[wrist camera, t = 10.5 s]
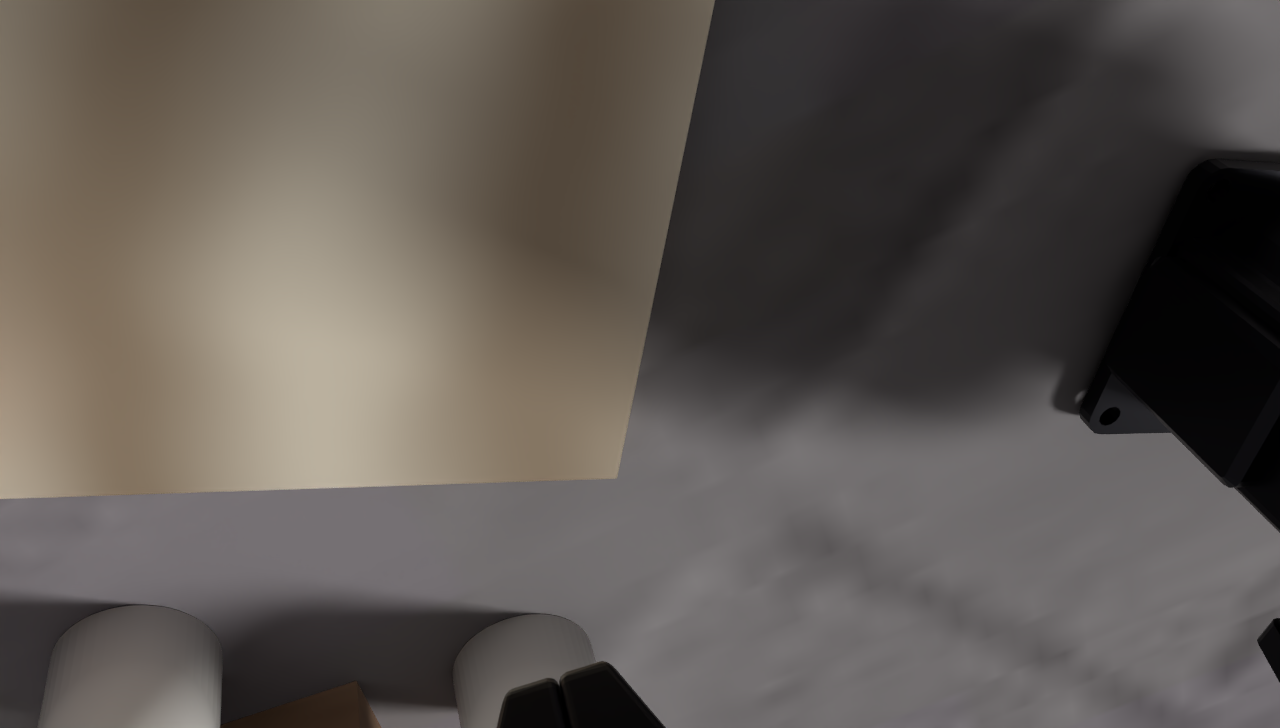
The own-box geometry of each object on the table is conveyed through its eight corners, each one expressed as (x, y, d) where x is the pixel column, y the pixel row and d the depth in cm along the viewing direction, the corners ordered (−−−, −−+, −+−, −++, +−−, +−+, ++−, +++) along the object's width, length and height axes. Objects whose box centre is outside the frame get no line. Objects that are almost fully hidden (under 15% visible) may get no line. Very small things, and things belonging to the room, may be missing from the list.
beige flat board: (752, -285, 16) (777, -276, 16) (607, 453, 23) (618, 484, 23) (-744, -557, 12) (-819, -564, 11) (-357, 478, 19) (-385, 520, 18)
